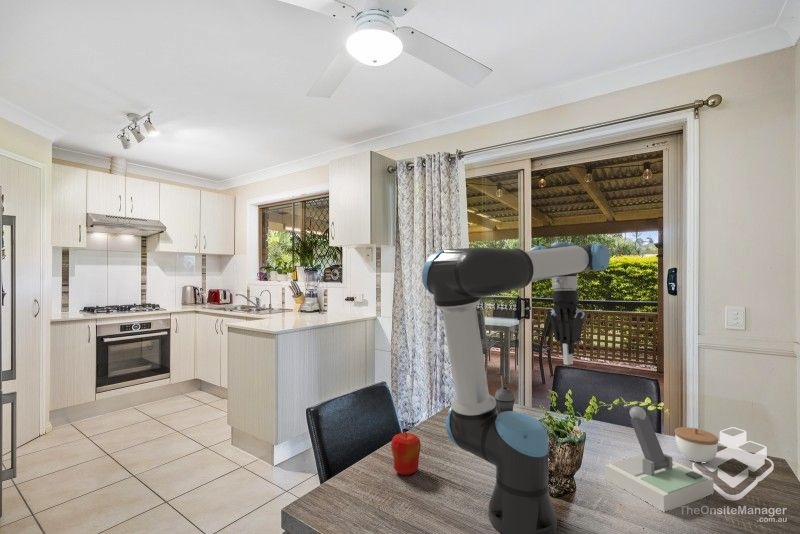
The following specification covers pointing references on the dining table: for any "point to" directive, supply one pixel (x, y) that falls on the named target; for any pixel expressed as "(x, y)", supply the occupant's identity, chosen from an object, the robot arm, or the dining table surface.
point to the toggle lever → (647, 438)
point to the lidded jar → (696, 443)
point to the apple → (406, 453)
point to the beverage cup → (504, 399)
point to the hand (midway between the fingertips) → (568, 364)
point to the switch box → (659, 482)
